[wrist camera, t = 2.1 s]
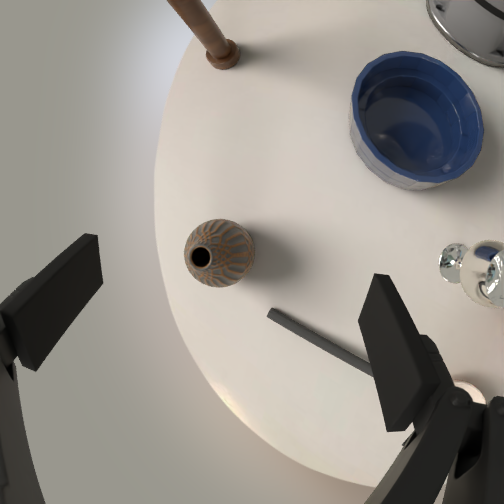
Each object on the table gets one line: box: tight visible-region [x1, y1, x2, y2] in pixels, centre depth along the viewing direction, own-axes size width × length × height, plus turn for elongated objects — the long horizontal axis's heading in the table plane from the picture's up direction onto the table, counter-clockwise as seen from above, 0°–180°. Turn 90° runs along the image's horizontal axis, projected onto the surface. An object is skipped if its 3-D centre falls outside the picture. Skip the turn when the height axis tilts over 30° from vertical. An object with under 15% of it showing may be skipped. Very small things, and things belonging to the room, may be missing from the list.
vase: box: [184, 219, 255, 287], centre depth 32 cm, size 7×7×9 cm
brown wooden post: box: [167, 0, 240, 69], centre depth 26 cm, size 4×4×19 cm
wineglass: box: [439, 240, 504, 308], centre depth 24 cm, size 6×6×12 cm
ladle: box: [267, 308, 486, 404], centre depth 32 cm, size 8×31×4 cm, turn 63°
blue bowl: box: [349, 51, 484, 190], centre depth 27 cm, size 14×14×6 cm
